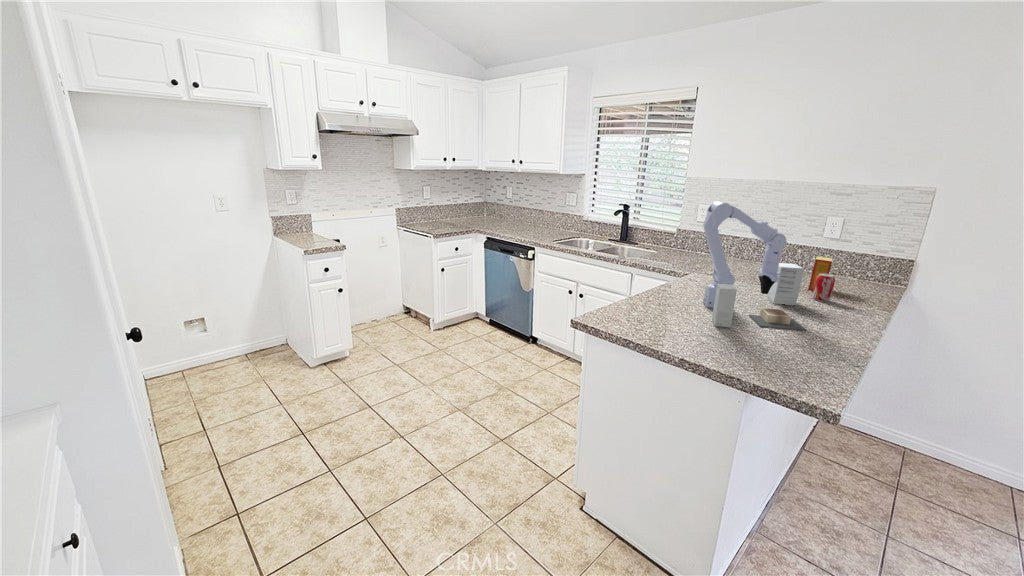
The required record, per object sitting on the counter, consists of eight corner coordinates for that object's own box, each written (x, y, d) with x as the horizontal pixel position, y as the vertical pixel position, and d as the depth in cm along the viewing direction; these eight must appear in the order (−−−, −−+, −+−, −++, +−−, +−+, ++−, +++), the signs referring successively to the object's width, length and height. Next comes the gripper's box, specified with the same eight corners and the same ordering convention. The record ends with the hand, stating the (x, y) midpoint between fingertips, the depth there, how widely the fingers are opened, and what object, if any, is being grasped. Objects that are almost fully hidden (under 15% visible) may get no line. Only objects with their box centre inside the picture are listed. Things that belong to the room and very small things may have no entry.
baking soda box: (809, 286, 220) (817, 255, 215) (825, 288, 216) (833, 257, 211) (808, 290, 212) (815, 258, 208) (824, 292, 209) (832, 260, 204)
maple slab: (758, 314, 174) (767, 322, 166) (760, 307, 173) (768, 314, 165) (780, 316, 172) (789, 324, 164) (782, 309, 172) (791, 316, 164)
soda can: (813, 301, 195) (819, 275, 192) (809, 296, 202) (815, 272, 198) (831, 303, 193) (838, 277, 189) (827, 299, 199) (833, 273, 196)
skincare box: (730, 328, 160) (738, 290, 155) (713, 326, 161) (720, 288, 157) (727, 320, 167) (734, 284, 163) (710, 318, 169) (717, 282, 165)
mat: (759, 326, 162) (760, 325, 162) (748, 315, 174) (749, 314, 173) (806, 330, 160) (806, 329, 160) (792, 319, 171) (792, 318, 171)
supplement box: (796, 306, 188) (805, 268, 183) (773, 304, 189) (781, 266, 184) (787, 299, 197) (795, 263, 192) (765, 297, 198) (773, 261, 193)
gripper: (789, 266, 168) (781, 299, 172) (774, 258, 182) (767, 289, 186) (770, 265, 169) (762, 298, 173) (756, 257, 183) (750, 288, 187)
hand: (764, 293), depth 180 cm, fingers closed
